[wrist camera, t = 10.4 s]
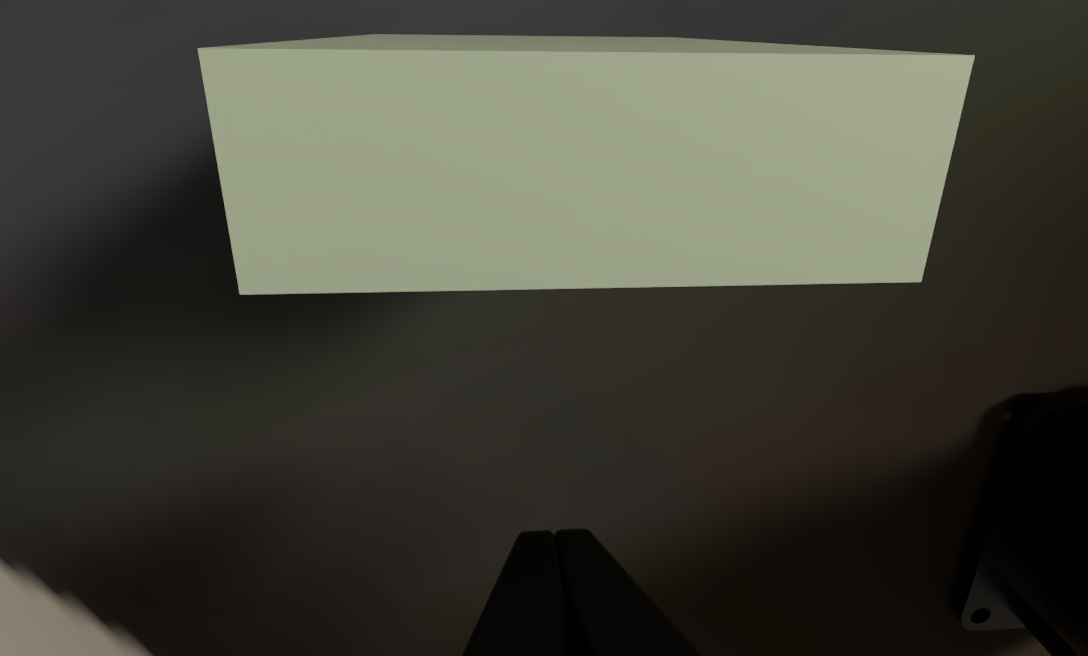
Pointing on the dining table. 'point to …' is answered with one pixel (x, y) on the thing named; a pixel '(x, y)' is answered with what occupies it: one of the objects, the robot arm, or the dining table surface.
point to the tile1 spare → (577, 161)
